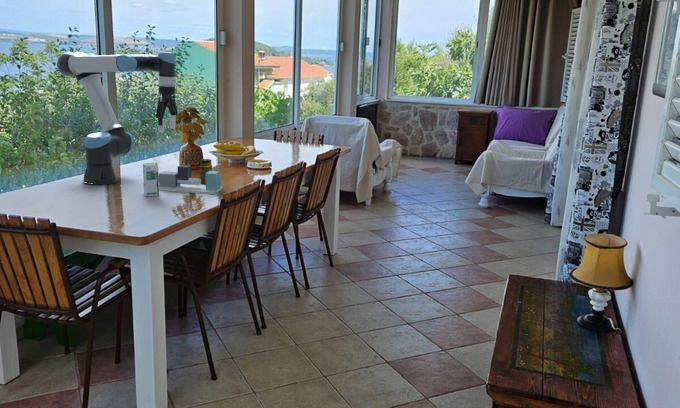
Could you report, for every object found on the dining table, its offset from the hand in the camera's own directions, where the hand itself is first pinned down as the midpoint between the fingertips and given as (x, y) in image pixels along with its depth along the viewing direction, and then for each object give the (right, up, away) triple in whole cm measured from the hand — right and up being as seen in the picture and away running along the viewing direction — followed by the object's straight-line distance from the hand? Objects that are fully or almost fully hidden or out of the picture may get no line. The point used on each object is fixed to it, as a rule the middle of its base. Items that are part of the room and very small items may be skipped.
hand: (167, 130), depth 285 cm
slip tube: (+6, -26, -3) cm, 27 cm away
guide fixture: (+12, -28, -3) cm, 31 cm away
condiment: (+16, -25, +10) cm, 32 cm away
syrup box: (-2, -31, -17) cm, 36 cm away
